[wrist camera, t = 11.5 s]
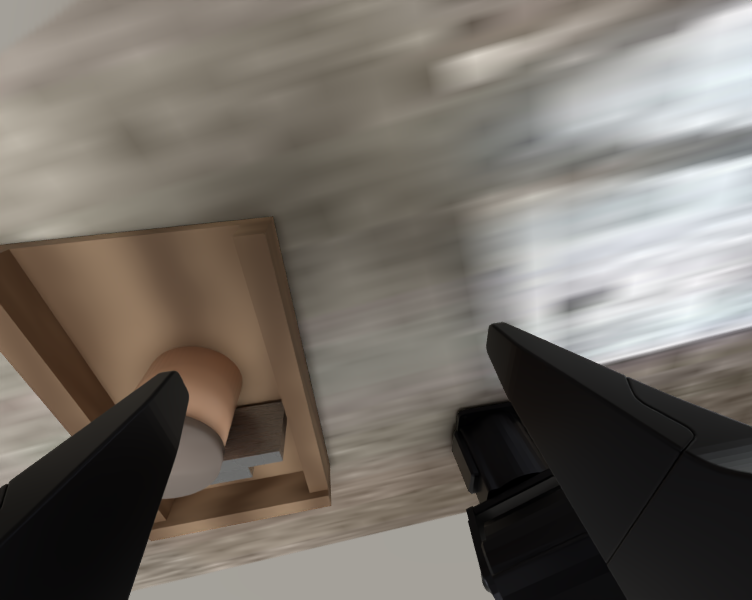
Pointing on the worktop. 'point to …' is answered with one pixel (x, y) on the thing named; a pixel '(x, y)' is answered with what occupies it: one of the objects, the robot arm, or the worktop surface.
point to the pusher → (253, 441)
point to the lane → (169, 344)
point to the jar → (200, 414)
